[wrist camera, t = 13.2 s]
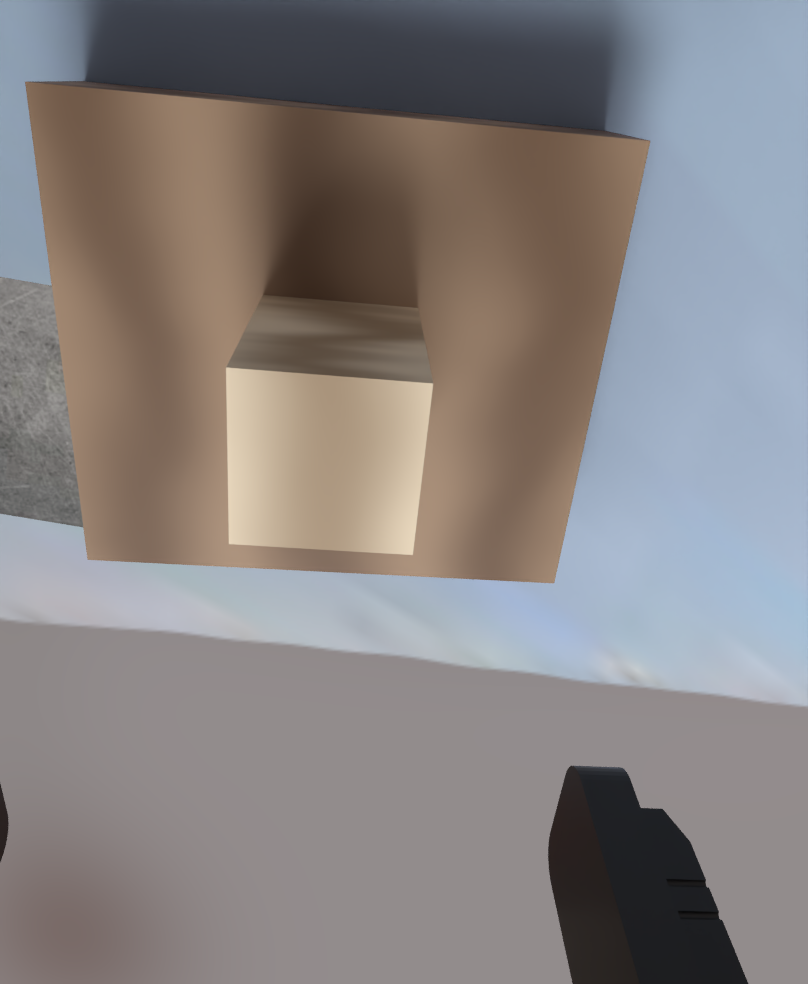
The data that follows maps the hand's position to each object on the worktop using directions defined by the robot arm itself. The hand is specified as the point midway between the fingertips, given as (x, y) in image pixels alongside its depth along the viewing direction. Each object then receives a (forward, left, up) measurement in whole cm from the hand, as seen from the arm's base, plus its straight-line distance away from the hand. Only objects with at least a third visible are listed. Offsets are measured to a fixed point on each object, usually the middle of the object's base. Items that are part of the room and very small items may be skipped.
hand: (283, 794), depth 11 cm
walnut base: (0, 0, -22) cm, 22 cm away
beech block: (0, 0, -17) cm, 17 cm away
